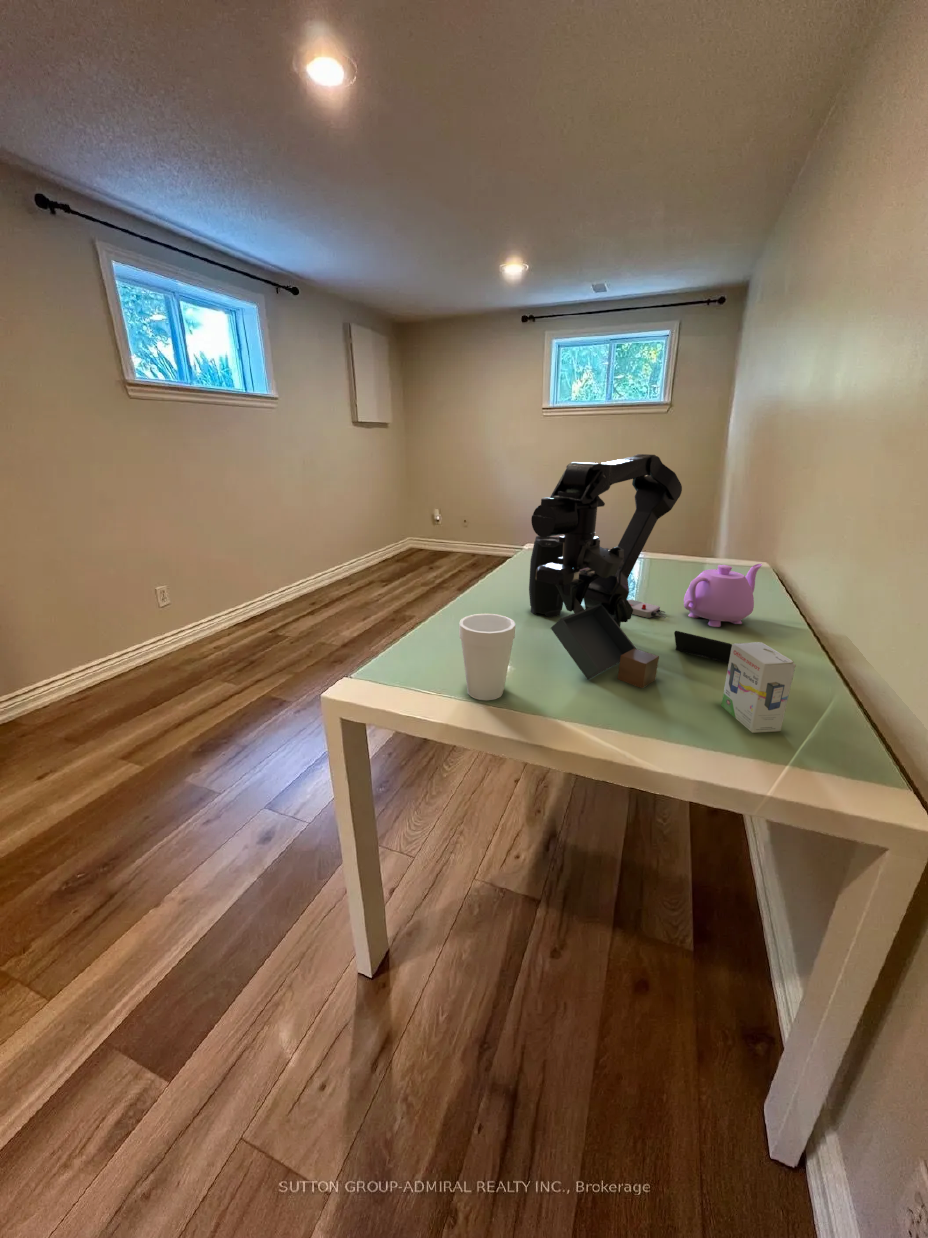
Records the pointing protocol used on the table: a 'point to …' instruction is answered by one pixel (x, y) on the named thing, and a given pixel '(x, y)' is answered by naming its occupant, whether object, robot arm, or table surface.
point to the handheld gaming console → (703, 646)
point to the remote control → (645, 609)
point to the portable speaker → (542, 593)
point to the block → (638, 667)
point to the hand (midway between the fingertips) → (573, 609)
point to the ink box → (757, 686)
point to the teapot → (721, 595)
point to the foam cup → (486, 653)
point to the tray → (592, 638)
